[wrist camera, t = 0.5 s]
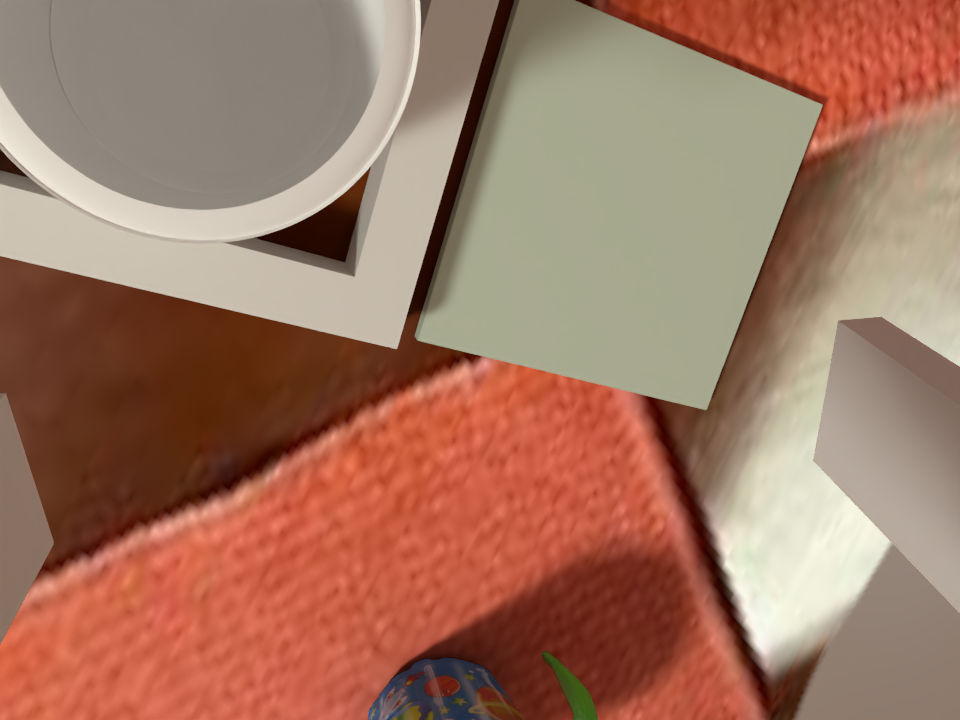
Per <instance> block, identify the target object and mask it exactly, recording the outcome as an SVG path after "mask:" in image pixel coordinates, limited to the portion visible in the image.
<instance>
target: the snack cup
mask: <svg viewBox="0 0 960 720" xmlns="http://www.w3.org/2000/svg"><path fill="white" fill-rule="evenodd" d="M542 656H543V659H544V661H545V662H546V663H547V664H548V665H550V666H551V667H552V668H553V670H554V672H555V675H556V677H557V680H558V682H559V684H560V686H561V688H562V691H563V693H564V695H565V697H566V700H567V702H568V704H569V706H570V708H571V710H572V712H573V714H574V717H573V720H598V718H597V713H596V709H595V706H594V703H593V700H592V698H591V696H590V694H589V692H588V691H587V689H586V688H585V686H584V685H583V684H582V683H581V682H580V681H579V680H578V679H577V678H576V677H575V676H574V675H573V674H572V673H571V672H570V671H569V670H568V669H567V668H566V667H565V666H564V665H563V664H562V663H561V662H560V661H558V660H557V659H556V658H555V657H554V656H552V655H551V654H550V653H548V652H547V651H543V652H542ZM368 720H525V719H524V718H523V717H522V715H521V714H520V712H519V711H518V710H517V708H516V707H515V706H514V704H513V703H512V701H511V700H510V698H509V697H508V696H507V694H506V693H505V691H504V690H503V689H502V687H501V685H500V684H499V683H498V682H497V681H496V679H495V678H494V677H493V676H492V674H491V673H490V672H489V671H488V670H487V669H486V668H484V667H482V666H481V665H479V664H478V665H476V664H474V663H471V662H467V661H464V660H460V659H456V658H441V659H438V660H431V659H423V660H421V661H418V662H416V663H414V664H413V665H412V667H411V668H410V669H408V670H406V671H405V672H402V673H400V674H398V675H397V676H396V677H394V678H393V679H392V680H391V681H390V682H389V684H388V685H387V686H386V687H385V688H384V690H383V691H382V692H381V694H380V696H379V698H378V699H377V700H376V701H375V702H374V703H373V705H372V707H371V708H370V710H369V714H368Z"/></svg>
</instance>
